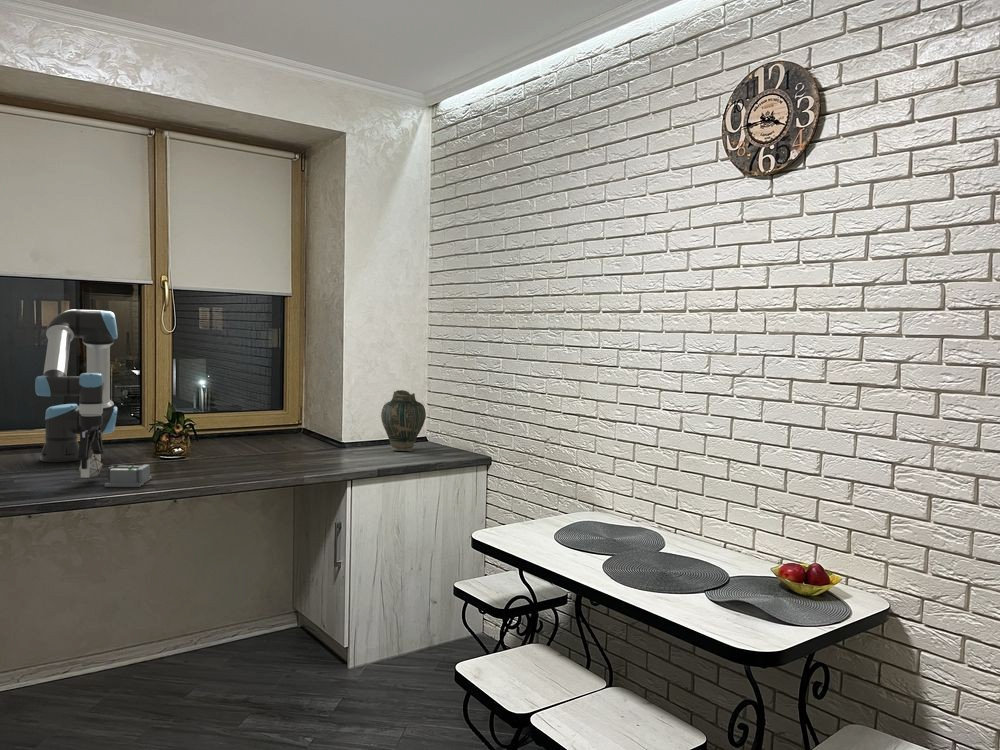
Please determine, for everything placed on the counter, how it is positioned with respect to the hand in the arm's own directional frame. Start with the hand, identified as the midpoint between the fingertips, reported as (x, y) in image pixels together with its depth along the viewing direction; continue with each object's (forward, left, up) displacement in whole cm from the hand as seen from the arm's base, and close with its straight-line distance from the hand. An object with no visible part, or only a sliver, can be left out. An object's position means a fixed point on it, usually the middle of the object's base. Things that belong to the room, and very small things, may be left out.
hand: (90, 474), depth 268 cm
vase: (-76, +117, -3) cm, 140 cm away
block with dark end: (+1, +11, -2) cm, 12 cm away
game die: (0, 0, -1) cm, 1 cm away
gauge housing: (0, +13, -3) cm, 14 cm away
